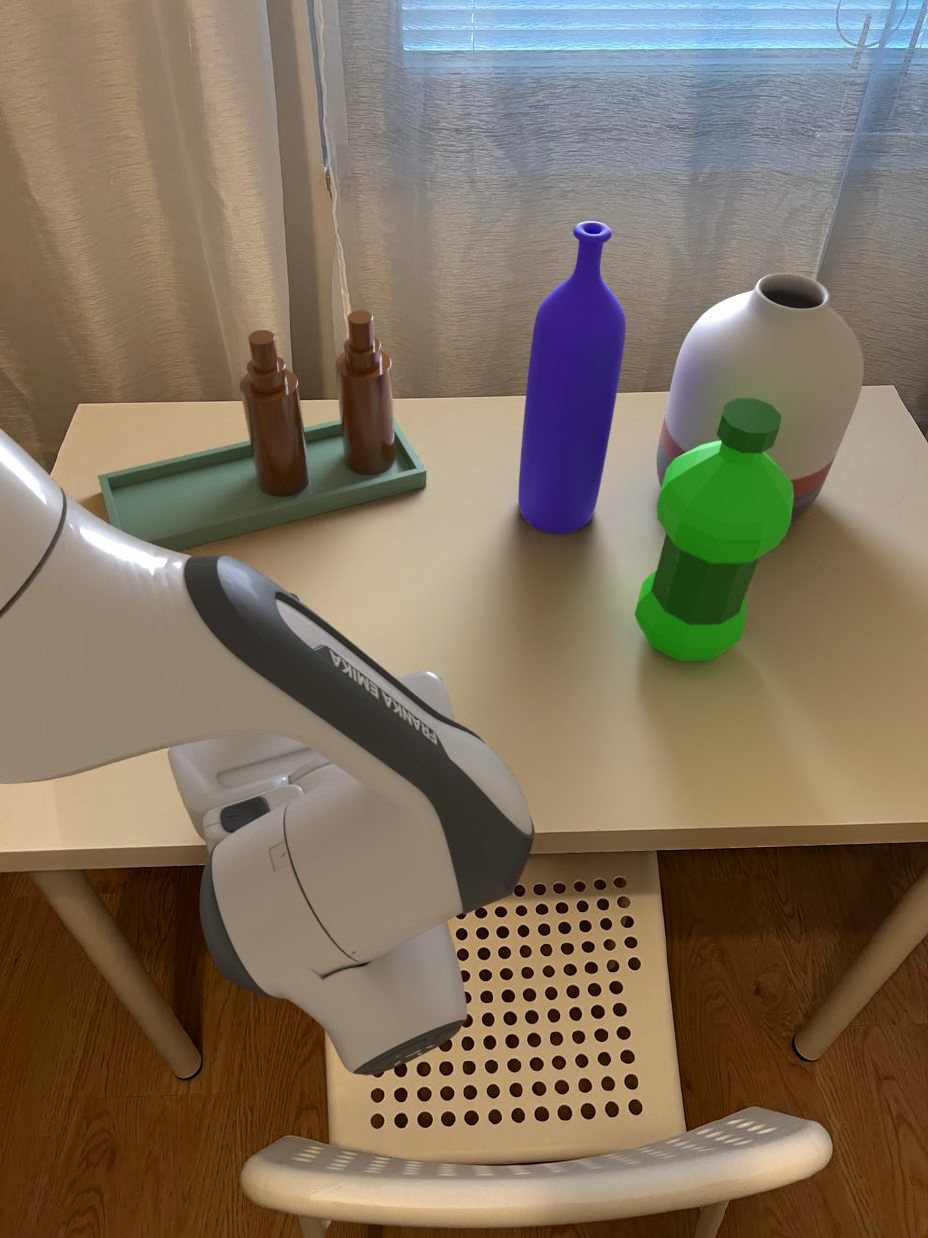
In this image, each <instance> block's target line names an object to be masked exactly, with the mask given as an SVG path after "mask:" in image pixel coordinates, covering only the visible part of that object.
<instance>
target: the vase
mask: <svg viewBox="0 0 928 1238" xmlns="http://www.w3.org/2000/svg"><path fill="white" fill-rule="evenodd" d="M830 304H831V294H830V291H829V290H828V288H827V287H826V286H824V285H823V284H822V283H820V282H819V281H817V280H816V279H814V278H811V277H809V276H806V275H802V274H797V273H791V272H779V273H772V274H771V273H770V274H768V275H766V276H763V277H762V278H761V279H759V280H758V282H757V283H756V284H755V287H754V289H753V290H750V291H746V292H743V293H739V294H736V295H734V296H730V297H729V298H726V299H724V300H722V301H720V302H718V303H716V304H715V305H714V306H712V307H710V308H709V309H708V310H706V311H705V312H704V313H703V314H702V315H701V316H700V317H699V319H698V320H697V321H696V322H695V323H694V324H693V326H692V327H691V329H690V330H689V332H688V333H687V335H686V336H685V338H684V340H683V342H682V345H681V347H680V350H679V353H678V356H677V359H676V362H675V366H674V371H673V375H672V380H671V383H670V388H669V393H668V397H667V401H666V406H665V411H664V415H663V420H662V425H661V430H660V434H659V439H658V445H657V451H656V462H655V463H656V474H657V478H658V482H659V486H660V489H661V488H662V484H663V480H664V477H665V473H666V469H667V468H668V466H669V465H670V464H671V463H672V461H673V460H674V459H675V458H677V457H679V456H681V455H682V454H684V453H686V452H688V451H690V450H692V449H694V448H696V447H698V446H700V445H702V444H707V443H711V442H715V441H721V440H720V439H719V437H718V436H717V431H718V426H719V422H720V419H721V415H722V412H723V408H724V405H725V404H726V403H728V402H730V401H732V400H734V399H736V398H755V399H758V400H760V401H763V402H765V403H768V404H770V405H772V406H773V407H774V408H775V409H776V410H777V411H778V412H779V414H780V415H781V422H780V428H779V431H778V433H777V436H776V439H775V442H774V445H773V447H771V448H770V449H768V450H766V451H764V452H765V453H766V454H767V455H768V456H769V457H770V458H771V459H773V461H774V462H775V463H776V464H777V465H778V467H779V468H780V469H781V470H782V471H783V473H784V474H785V475H786V476H787V477H788V478H789V480H790V481H791V482H792V483H793V492H794V500H793V507H792V515H791V523H790V526H791V525H793V524H795V522H797V521H798V520H799V519H801V518H802V517H803V516H804V515H805V514H806V513H807V512H808V511H809V510H810V508H811V507H812V506H813V504H814V503H815V502H816V500H817V498H818V497H819V495H820V493H821V491H822V488H823V486H824V484H825V482H826V480H827V477H828V475H829V472H830V471H831V468H832V465H833V463H834V461H835V458H836V456H837V454H838V451H839V449H840V446H841V444H842V441H843V439H844V437H845V434H846V432H847V429H848V427H849V424H850V422H851V420H852V418H853V415H854V413H855V409H856V407H857V404H858V401H859V398H860V395H861V392H862V388H863V382H864V358H863V353H862V348H861V345H860V342H859V340H858V337H857V336H856V334H855V333H854V331H853V330H852V328H851V326H849V324H848V323H847V322H846V321H845V320H844V319H843V317H842V316H841V315H839V313H837V312H836V311H835V310H834V309H833V308H832V307H831V306H830Z"/></svg>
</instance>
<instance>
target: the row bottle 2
mask: <svg viewBox="0 0 928 1238" xmlns="http://www.w3.org/2000/svg"><path fill="white" fill-rule="evenodd" d="M347 328H348V329H347V330H348V338H347V339H345V341H344V342H343V352H341V353H340V354H339V355H338V356H337V358H336V359H335V363H334V365H335V367H334V369H335V378H336V387H337V388H336V389H337V398H338V399H337V400H338V409H339V410H338V411H339V419H340V421H341V432H342V443H343V454H344V462H345V464H346V466H347V467H348V468H349V469H350V470H352V471H353V472H355V473H358V474H363V475H375V474H379V473H382V472H385V471H387V470H388V469H389V468H391V467H392V465H393V464H394V462H395V440H394V418H395V417H394V393H393V392H394V391H393V390H394V389H393V371H392V370H393V369H392V367H393V366H392V359H391V357H390V356H389V354H388V353H386V352H385V351H382V344H381V341H380V340H379V339H378V338H377V337H375V327H374V315H373V314H372V313H371V312H370V311H367V310H361V309H359V310H353V311H352V312H350V313H349V314H348V315H347Z"/></svg>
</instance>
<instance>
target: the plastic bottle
mask: <svg viewBox="0 0 928 1238" xmlns="http://www.w3.org/2000/svg"><path fill="white" fill-rule="evenodd" d="M780 422H781V415H780V414H779V412H778V411H777V410H776V409H775V408H774V407H773V406H772V405H770V404H768V403H765V402H763V401H760V400H758V399H755V398H736V399H734V400H732V401H730V402H728V403H726V404H725V405H724V408H723V412H722V415H721V419H720V422H719V426H718V431H717V436H718V437H719V439H720V440H721V441H715V442H711V443H707V444H702V445H700V446H698V447H696V448H694V449H692V450H690V451H688V452H686V453H684V454H682V455H681V456H679V457H677V458H675V459H674V460H673V461H672V463H671V464H670V465H669V466H668V468H667V469H666V473H665V477H664V480H663V484H662V488H661V487H660V492H659V496H658V500H657V504H656V519H657V521H658V522H659V524H660V525H661V527H662V528H663V530H664V531H665V537H664V540H663V544H662V548H661V552H660V556H659V560H658V564H657V567H656V570H654V571H653V572H652V573H651V574H649V575H648V576H647V577H646V578H645V579H644V580H643V581H642V585H641V588H640V592H639V596H638V599H637V604H636V607H635V610H634V611H635V612H634V616H635V619H636V623H637V624H638V626H639V628H640V629H641V631H642V633H643V635H644V637H645V638H646V640H647V642H648V643H649V645H650V646H651V647H653V648H654V649H655V650H657V651H659V652H661V653H663V654H665V655H666V656H669V657H670V658H673V660H676V661H681V662H683V661H684V662H685V661H687V662H708V661H713V660H714V659H715V658H717V657H719V656H720V655H721V654H723V653H724V652H726V651H728V650H729V649H731V648H732V647H733V646H735V645H736V644H737V643H739V642H740V641H741V640H742V637H743V634H744V632H745V625H746V619H747V612H748V602H747V601H748V600H747V597H746V595H747V591H748V589H749V586H750V583H751V580H752V578H753V575H754V572H755V571H756V567H757V564H758V561H759V559H760V558H761V557H762V556H764V555H766V554H767V553H769V552H770V551H772V550H773V549H775V548H777V547H778V546H779V545H780V544H781V542H782V541H783V539H784V538H785V537H786V536H787V533H788V531H789V528H790V526H791V525H790V523H791V515H792V507H793V500H794V492H793V483H792V482H791V481H790V480H789V478H788V477H787V476H786V475H785V474H784V473H783V471H782V470H781V469H780V468H779V467H778V465H777V464H776V463H775V462H774V461H773V459H771V458H770V457H769V456H768V455H767V454H766V453H765V452H764V451H766V450H768V449H770V448H771V447H773V445H774V442H775V439H776V436H777V433H778V431H779V428H780Z"/></svg>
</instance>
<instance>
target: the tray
mask: <svg viewBox="0 0 928 1238" xmlns="http://www.w3.org/2000/svg"><path fill="white" fill-rule="evenodd" d="M304 432H305V440H306V448H307V455H308V463H309V471H310V482H309V484H308V486H307V487H306V488H305V489H304V490H303V491H301V492H299V493H298V494H295V495H292V496H287V497H276V496H271V495H268V494H266V493H265V492H263V491H262V490H261V489H260V488H259V486H258V483H257V477H256V472H255V467H254V461H253V456H252V450H251V445H250V440H245V441H241V442H237V443H232V444H228V445H223V446H220V447H214V448H211V449H206V450H202V451H198V452H193V453H189V454H184V455H180V456H176V457H172V458H168V459H163V460H158V461H155V462H149V463H146V464H142V465H138V466H133V467H128V468H124V469H120V470H116V471H111V472H107V473H101V474H99V475H97V478H98V482H99V486H100V490H101V493H102V498H103V502H104V504H105V509H106V510H105V511H106V513H107V518H108V521H109V524H110V525H112V526H113V527H115V528H117V529H119V530H121V531H123V532H125V533H127V534H129V535H131V536H134V537H136V538H138V539H140V540H143V541H145V542H148V543H151V544H153V545H156V546H159V547H162V548H165V549H168V550H171V551H175V552H179V551H181V550H185V549H189V548H190V549H191V548H193V547H196V546H200V545H206V544H208V543H212V542H216V541H220V540H224V539H228V538H231V537H235V536H239V535H243V534H248V533H251V532H255V531H259V530H262V529H266V528H267V529H268V528H270V527H274V526H278V525H283V524H285V523H288V522H289V523H290V522H294V521H298V520H302V519H305V518H309V517H313V516H317V515H320V514H324V513H328V512H331V511H336V510H340V509H344V508H347V507H351V506H356V505H359V504H363V503H367V502H371V501H375V500H378V499H383V498H385V497H390V496H394V495H397V494H401V493H406V492H409V491H413V490H417V489H422V488H424V487H427V470H426V468H425V466H424V464H423V463H422V461H421V460H420V458H419V457H418V455H417V453H416V451H415V450H414V448H413V446H412V445H411V443H410V441H409V440H408V438H407V436H406V434H405V433H404V431H403V430H402V428H401V427H400V425H399V423H398V421H397V420H396V418H395V417H394V440H395V462H394V464H393V465H392V467H391V468H389V469H388V470H387V471H385V472H382V473H379V474H375V475H363V474H358V473H355V472H353V471H352V470H350V469H349V468H348V467H347V466H346V464H345V462H344V454H343V443H342V432H341V421H340V418H339V419H336V420H331V421H327V422H323V423H318V424H313V425H310V426H306V427H305V426H304Z"/></svg>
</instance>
